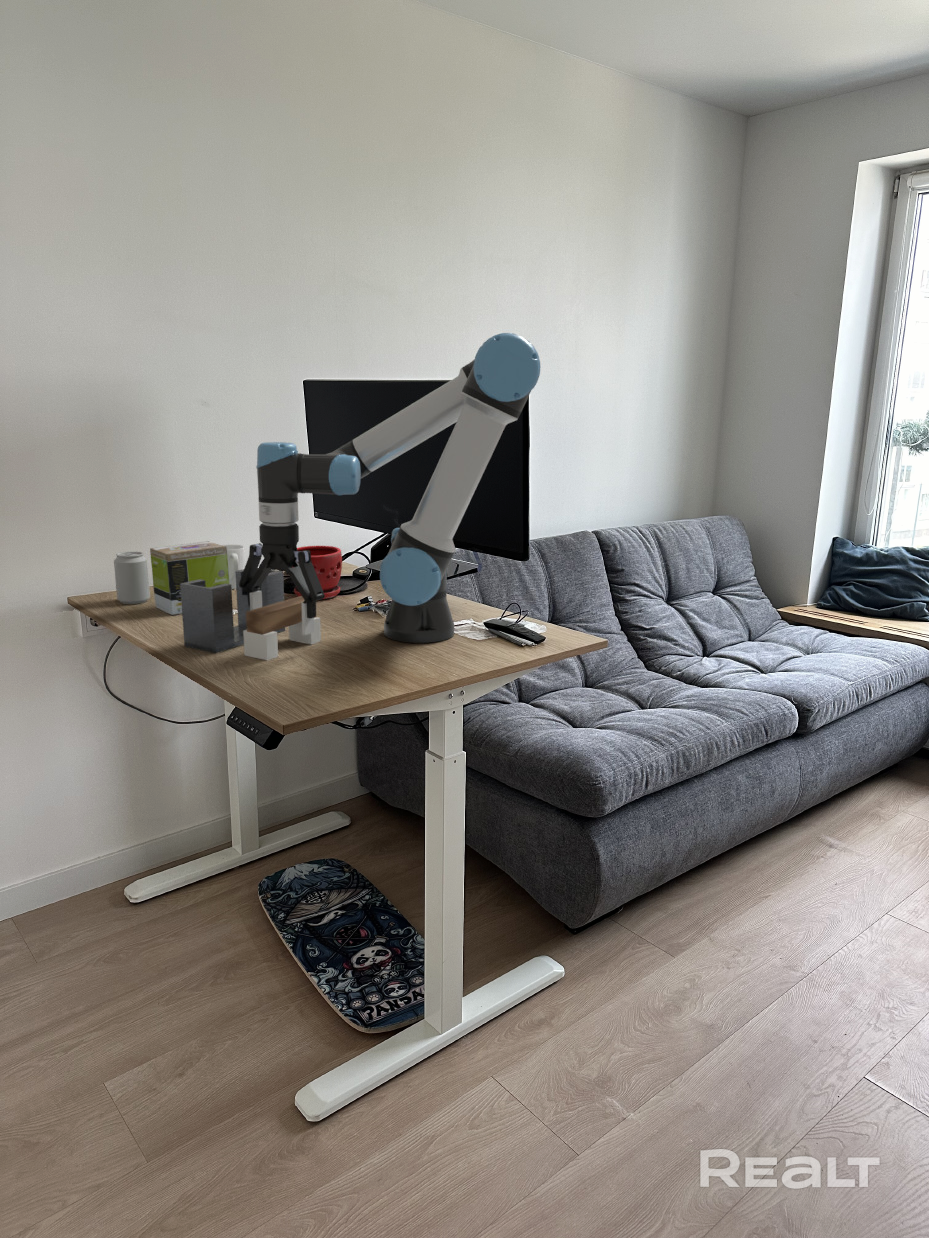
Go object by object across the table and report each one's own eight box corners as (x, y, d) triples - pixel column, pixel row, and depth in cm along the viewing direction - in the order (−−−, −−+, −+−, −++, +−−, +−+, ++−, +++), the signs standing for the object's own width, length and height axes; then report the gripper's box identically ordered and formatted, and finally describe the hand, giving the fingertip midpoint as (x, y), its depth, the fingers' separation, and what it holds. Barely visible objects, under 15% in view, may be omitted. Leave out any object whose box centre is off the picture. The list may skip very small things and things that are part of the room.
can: (131, 606, 207) (126, 557, 204) (110, 602, 211) (106, 553, 208) (156, 600, 214) (153, 552, 211) (136, 596, 217) (132, 549, 214)
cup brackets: (285, 630, 189) (283, 571, 186) (215, 653, 172) (212, 589, 169) (255, 624, 193) (252, 567, 190) (184, 646, 176) (180, 583, 173)
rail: (316, 617, 181) (315, 598, 180) (262, 634, 167) (261, 614, 166) (301, 614, 183) (301, 596, 182) (247, 631, 169) (246, 611, 168)
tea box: (213, 598, 216) (209, 540, 213) (231, 606, 209) (228, 545, 205) (153, 607, 207) (149, 546, 203) (171, 616, 200) (166, 552, 196)
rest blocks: (320, 641, 182) (320, 617, 180) (267, 660, 168) (266, 635, 167) (298, 636, 184) (297, 613, 183) (244, 655, 171) (243, 630, 170)
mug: (212, 584, 232) (210, 545, 229) (242, 582, 235) (240, 543, 232) (222, 594, 221) (219, 553, 218) (253, 591, 225) (251, 551, 222)
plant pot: (293, 590, 226) (292, 545, 223) (344, 590, 227) (343, 545, 224) (286, 602, 214) (284, 554, 211) (340, 602, 215) (339, 554, 212)
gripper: (218, 519, 173) (223, 622, 178) (316, 532, 161) (318, 642, 166) (245, 515, 179) (249, 615, 184) (341, 527, 167) (342, 633, 172)
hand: (282, 628), depth 175 cm, fingers open, 13 cm apart
